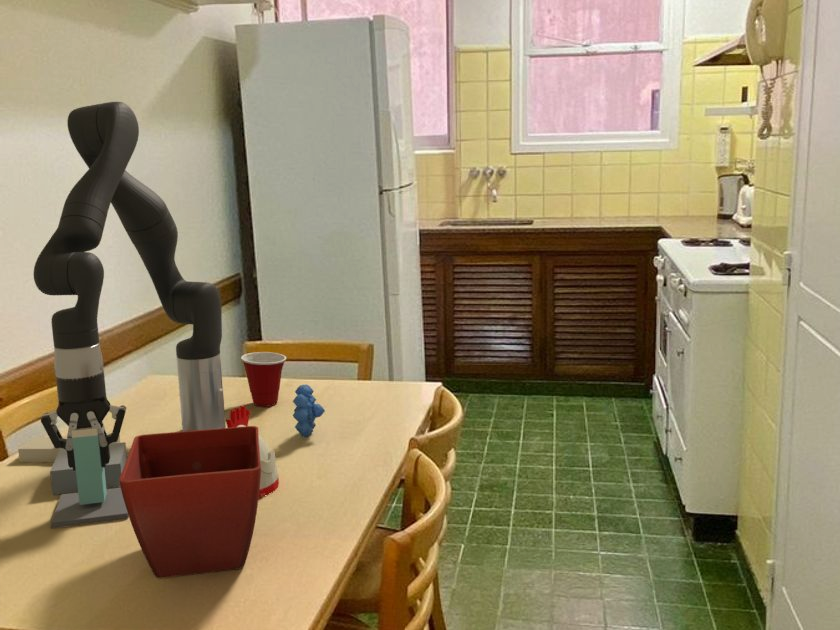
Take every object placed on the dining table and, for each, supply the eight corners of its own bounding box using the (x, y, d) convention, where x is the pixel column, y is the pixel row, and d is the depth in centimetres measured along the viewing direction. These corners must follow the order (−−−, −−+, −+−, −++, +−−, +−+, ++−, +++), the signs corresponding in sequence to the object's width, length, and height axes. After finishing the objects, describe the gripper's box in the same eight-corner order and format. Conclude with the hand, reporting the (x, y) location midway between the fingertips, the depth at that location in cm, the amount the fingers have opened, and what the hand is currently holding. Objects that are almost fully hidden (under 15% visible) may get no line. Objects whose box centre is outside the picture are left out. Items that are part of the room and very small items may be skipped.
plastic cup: (284, 409, 197) (282, 360, 194) (239, 410, 197) (236, 361, 195) (292, 396, 207) (289, 350, 205) (249, 397, 208) (246, 350, 205)
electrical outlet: (35, 432, 173) (119, 432, 172) (37, 450, 174) (121, 450, 173) (17, 444, 166) (105, 444, 165) (19, 463, 167) (107, 463, 166)
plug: (106, 492, 145) (99, 421, 143) (104, 501, 142) (96, 428, 139) (82, 495, 144) (74, 423, 142) (79, 504, 141) (71, 431, 138)
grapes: (321, 446, 171) (318, 391, 169) (288, 446, 172) (285, 391, 170) (331, 428, 183) (328, 375, 180) (300, 428, 183) (298, 375, 181)
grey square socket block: (127, 463, 164) (125, 442, 163) (122, 486, 153) (120, 463, 152) (62, 470, 161) (60, 448, 160) (52, 494, 150) (50, 471, 149)
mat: (132, 491, 151) (132, 486, 150) (127, 518, 139) (127, 513, 139) (62, 499, 148) (61, 494, 147) (51, 528, 136) (50, 522, 136)
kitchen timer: (292, 477, 156) (287, 401, 153) (254, 507, 143) (249, 424, 140) (227, 469, 160) (222, 395, 157) (186, 497, 147) (179, 417, 145)
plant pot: (268, 577, 119) (261, 467, 116) (128, 595, 115) (117, 481, 112) (264, 521, 137) (258, 424, 134) (144, 534, 133) (134, 435, 130)
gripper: (126, 361, 144) (134, 455, 147) (37, 369, 140) (49, 464, 144) (122, 372, 137) (132, 470, 140) (29, 380, 133) (41, 480, 137)
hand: (89, 467), depth 142 cm, fingers closed on plug, 4 cm apart
